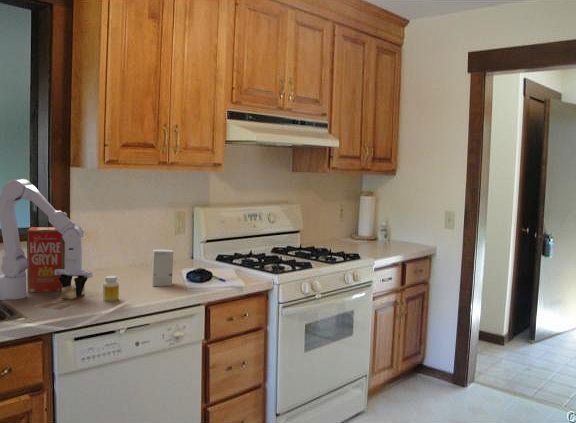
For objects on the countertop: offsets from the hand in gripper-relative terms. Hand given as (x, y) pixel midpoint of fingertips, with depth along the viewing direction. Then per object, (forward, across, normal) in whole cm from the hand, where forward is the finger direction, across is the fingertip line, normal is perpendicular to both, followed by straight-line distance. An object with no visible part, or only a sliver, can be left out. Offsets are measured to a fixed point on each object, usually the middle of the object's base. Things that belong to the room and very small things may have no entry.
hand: (73, 295), depth 197 cm
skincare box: (+2, +20, +34) cm, 39 cm away
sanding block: (+1, 0, 0) cm, 1 cm away
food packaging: (+2, -16, +8) cm, 18 cm away
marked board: (+2, 0, -6) cm, 6 cm away
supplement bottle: (+2, +14, +2) cm, 15 cm away
